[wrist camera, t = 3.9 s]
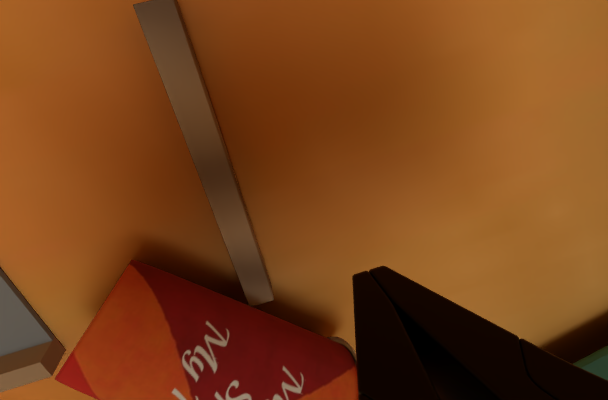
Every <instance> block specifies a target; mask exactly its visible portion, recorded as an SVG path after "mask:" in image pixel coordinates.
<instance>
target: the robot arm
mask: <svg viewBox="0 0 608 400" xmlns="http://www.w3.org/2000/svg"><path fill="white" fill-rule="evenodd" d="M353 299H354V319H355V340H356V360H357V380H358V394H359V396H358V400H608V380H606V379H603V378H601V377H599V376H597V375H595V374H592V373H590V372H588V371H586V370H584V369H582V368H579V367H577V366H575V365H573V364H571V363H569V362H567V361H565V360H563V359H561V358H559V357H557V356H555V355H553V354H551V353H549V352H547V351H545V350H543V349H541V348H539V347H537V346H536V345H534V344H532V343H530V342H528V341H526V340H524V339H519V338H518V336H516V335H514V334H513V333H511V332H509V331H507V330H505V329H503V328H501V327H499V326H497V325H496V324H494V323H492V322H490V321H488V320H486V319H484V318H482V317H480V316H479V315H477V314H475V313H473V312H471V311H469V310H467V309H465V308H463V307H461V306H460V305H458V304H456V303H454V302H452V301H450V300H448V299H446V298H444V297H443V296H441V295H439V294H437V293H435V292H433V291H431V290H429V289H427V288H426V287H424V286H422V285H420V284H418V283H416V282H414V281H412V280H410V279H409V278H407V277H405V276H403V275H401V274H399V273H397V272H395V271H393V270H392V269H390V268H388V267H386V266H380V267H377V268H373V269H371V270H369V272H368V271H364V272H361V273H357V274H354V275H353Z"/></svg>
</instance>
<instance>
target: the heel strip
mask: <svg viewBox="0 0 608 400" xmlns="http://www.w3.org/2000/svg"><path fill="white" fill-rule="evenodd" d="M133 6H134V9H135V11H136V14H137V17H138V19H139V22H140V24H141V27H142V30H143V32H144V35H145V37H146V40H147V42H148V45H149V48H150V50H151V53H152V55H153V58H154V61H155V63H156V66H157V68H158V71H159V74H160V76H161V79H162V81H163V84H164V86H165V89H166V92H167V94H168V97H169V99H170V102H171V105H172V107H173V110H174V112H175V115H176V118H177V120H178V123H179V125H180V128H181V130H182V133H183V136H184V138H185V141H186V143H187V146H188V149H189V151H190V154H191V156H192V159H193V162H194V164H195V167H196V169H197V172H198V174H199V177H200V180H201V182H202V185H203V187H204V190H205V193H206V195H207V198H208V200H209V203H210V206H211V208H212V211H213V213H214V216H215V218H216V221H217V224H218V226H219V229H220V231H221V234H222V237H223V239H224V242H225V244H226V247H227V250H228V252H229V255H230V257H231V260H232V262H233V265H234V268H235V270H236V273H237V275H238V278H239V281H240V283H241V286H242V288H243V291H244V294H245V296H246V299H247V301H248V304H249V306H251V307H253V306H256V305H259V304H262V303H266V302H269V301H272V300H274V297H273V291H272V286H271V282H270V279H269V276H268V273H267V270H266V267H265V264H264V261H263V258H262V255H261V252H260V249H259V246H258V243H257V240H256V237H255V234H254V231H253V228H252V225H251V222H250V219H249V216H248V213H247V210H246V207H245V204H244V201H243V198H242V195H241V192H240V189H239V186H238V183H237V180H236V177H235V174H234V171H233V168H232V165H231V161H230V158H229V155H228V152H227V149H226V146H225V143H224V140H223V137H222V134H221V131H220V128H219V125H218V122H217V119H216V116H215V113H214V110H213V107H212V104H211V101H210V98H209V95H208V92H207V89H206V86H205V83H204V80H203V77H202V74H201V71H200V68H199V65H198V62H197V59H196V56H195V53H194V50H193V47H192V44H191V41H190V38H189V35H188V32H187V29H186V26H185V23H184V20H183V17H182V14H181V11H180V8H179V5H178V2H177V0H152V1H147V2H143V3H138V4H134V5H133Z"/></svg>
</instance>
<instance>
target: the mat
mask: <svg viewBox="0 0 608 400" xmlns="http://www.w3.org/2000/svg"><path fill="white" fill-rule="evenodd" d="M64 352H65V349H64V347H63V346H62V345H61V344H60V342H59V341H58V340H57V339H56V337H55V336H54V335H53V334H52V332H51V331H50V330H49V329H48V327H47V326H46V325H45V324H44V322H43V321H42V320H41V319H40V317H39V316H38V315H37V314H36V312H35V311H34V310H33V308H32V307H31V306H30V305H29V303H28V302H27V301H26V300H25V298H24V297H23V296H22V295H21V293H20V292H19V291H18V290H17V288H16V287H15V286H14V285H13V283H12V282H11V281H10V280H9V278H8V277H7V276H6V275H5V273H4V272H3V271H2V269H1V268H0V392H3V391H7V390H10V389H13V388H16V387H19V386H23V385H26V384H29V383H32V382H35V381H38V380H42V379H45V378H48V377H51V376H52V375H53V373H54V371H55V370H56V368H57V366H58V364H59V362H60V360H61V358H62V356H63V354H64Z"/></svg>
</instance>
